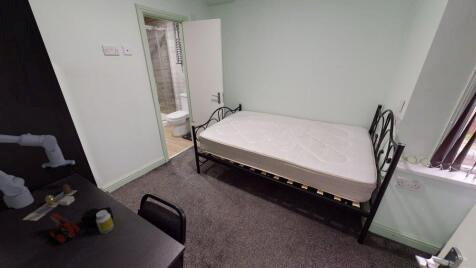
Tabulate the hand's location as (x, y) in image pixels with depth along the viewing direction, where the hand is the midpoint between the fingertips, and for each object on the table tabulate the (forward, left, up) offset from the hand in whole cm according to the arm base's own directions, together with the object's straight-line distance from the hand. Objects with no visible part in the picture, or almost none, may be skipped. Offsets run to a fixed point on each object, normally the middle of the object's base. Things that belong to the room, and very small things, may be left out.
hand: (64, 175), depth 104 cm
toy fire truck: (+28, -29, -10) cm, 42 cm away
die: (+11, -12, -10) cm, 19 cm away
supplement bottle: (+44, -25, -10) cm, 52 cm away
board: (+4, -13, -10) cm, 17 cm away
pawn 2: (+4, -4, -9) cm, 10 cm away
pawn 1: (+4, -13, -9) cm, 16 cm away
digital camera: (+38, -21, -10) cm, 45 cm away
